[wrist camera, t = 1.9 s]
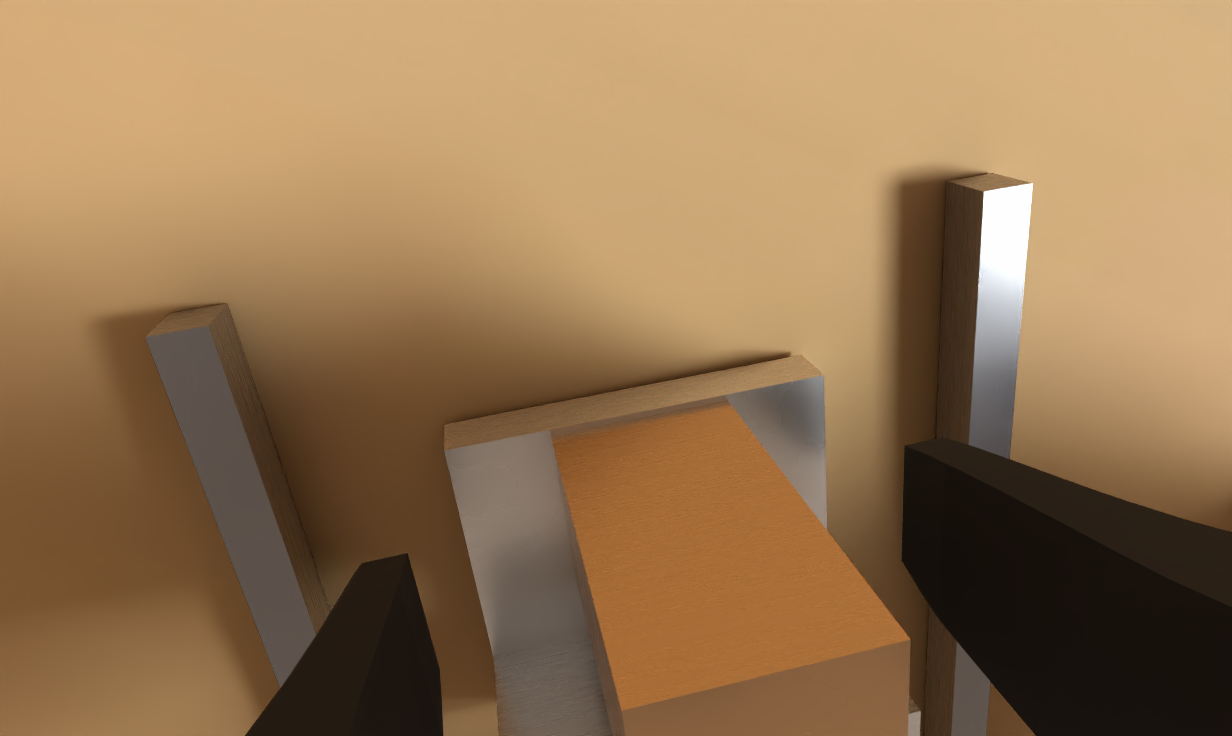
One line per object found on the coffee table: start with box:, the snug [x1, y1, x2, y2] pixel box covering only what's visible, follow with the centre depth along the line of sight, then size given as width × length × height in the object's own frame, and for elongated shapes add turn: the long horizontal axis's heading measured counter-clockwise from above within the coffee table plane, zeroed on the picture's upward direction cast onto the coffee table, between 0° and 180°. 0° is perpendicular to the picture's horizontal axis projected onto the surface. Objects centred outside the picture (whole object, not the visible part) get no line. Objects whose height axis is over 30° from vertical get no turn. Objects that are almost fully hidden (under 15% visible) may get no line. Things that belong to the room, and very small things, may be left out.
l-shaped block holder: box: [444, 355, 921, 736], centre depth 11 cm, size 6×6×6 cm
